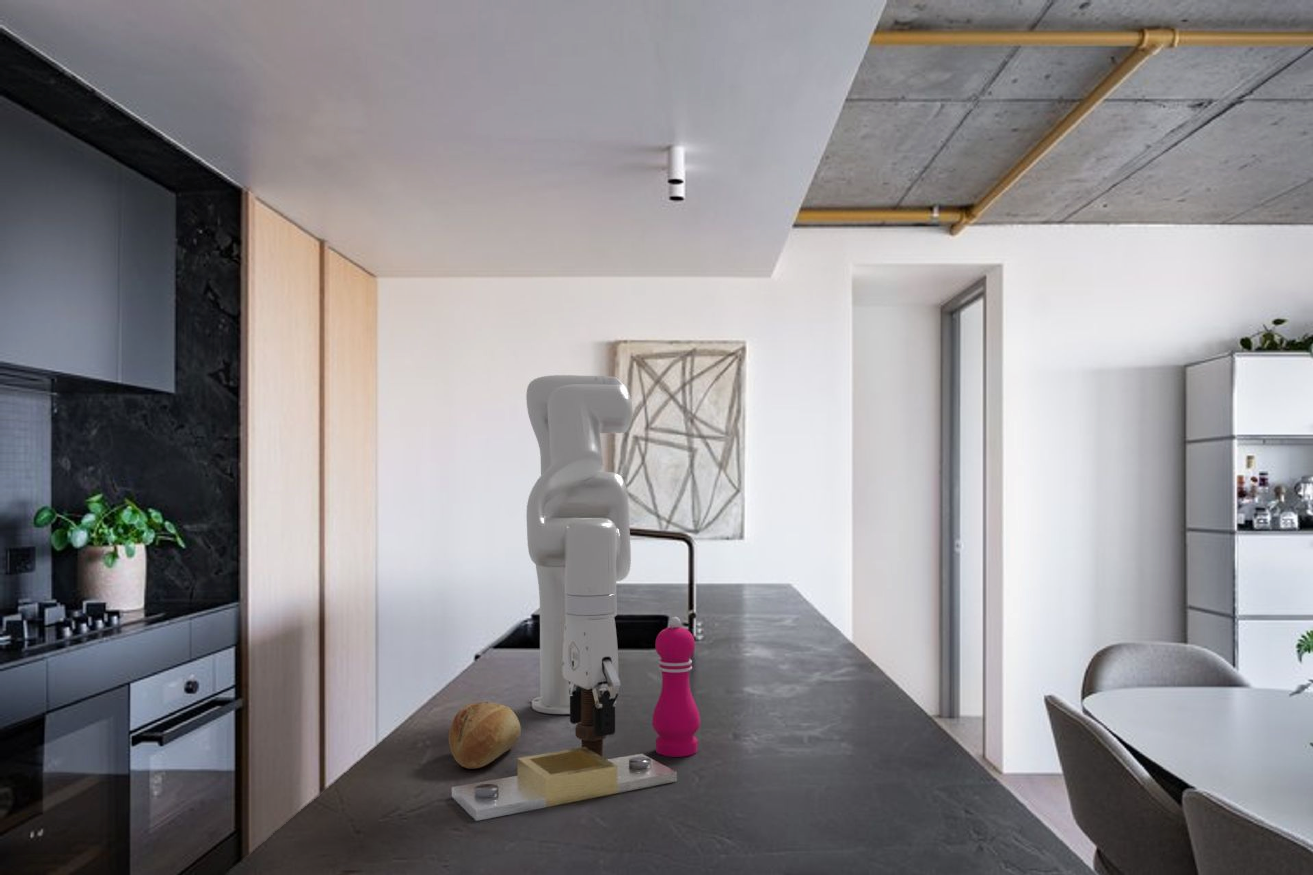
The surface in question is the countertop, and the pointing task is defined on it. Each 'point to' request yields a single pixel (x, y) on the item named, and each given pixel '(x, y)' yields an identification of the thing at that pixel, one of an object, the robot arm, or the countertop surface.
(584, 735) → the bolt
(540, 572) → the robot arm
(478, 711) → the bread roll
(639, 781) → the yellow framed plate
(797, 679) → the countertop surface
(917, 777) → the countertop surface
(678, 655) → the pepper mill
